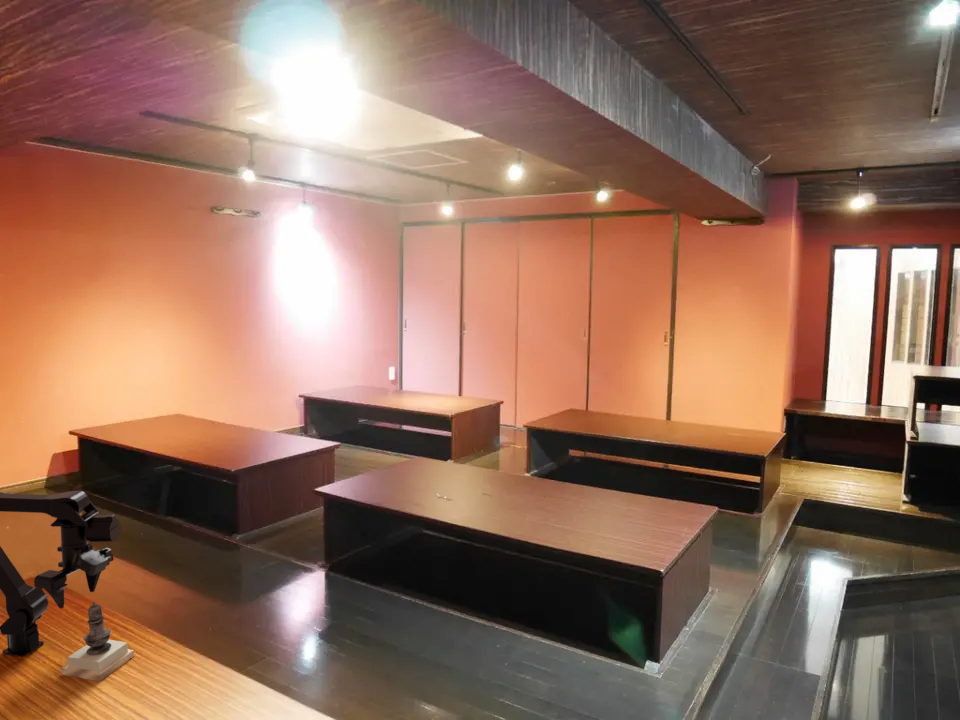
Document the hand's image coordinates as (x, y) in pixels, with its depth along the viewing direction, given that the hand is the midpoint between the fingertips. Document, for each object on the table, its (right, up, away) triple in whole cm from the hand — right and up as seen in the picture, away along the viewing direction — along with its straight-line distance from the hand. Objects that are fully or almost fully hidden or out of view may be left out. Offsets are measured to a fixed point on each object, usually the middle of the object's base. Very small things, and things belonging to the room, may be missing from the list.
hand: (77, 599), depth 165 cm
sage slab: (+9, -12, -6) cm, 17 cm away
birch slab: (+9, -15, -6) cm, 18 cm away
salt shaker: (+10, -10, -7) cm, 15 cm away
